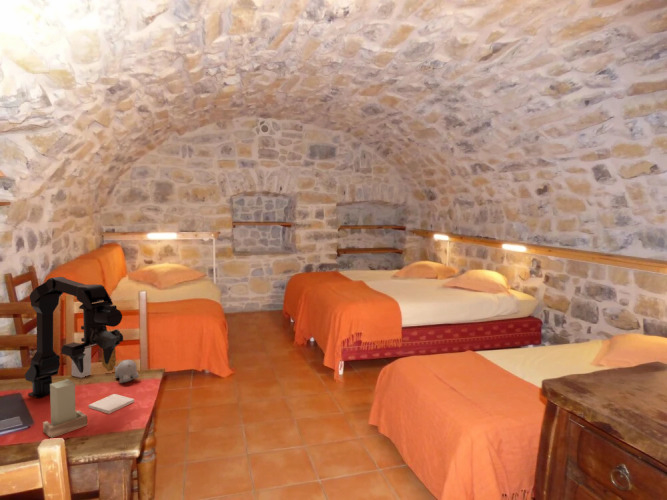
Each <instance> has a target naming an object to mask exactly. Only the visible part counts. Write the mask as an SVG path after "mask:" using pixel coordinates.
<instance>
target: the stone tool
mask: <svg viewBox="0 0 667 500" xmlns="http://www.w3.org/2000/svg"><path fill="white" fill-rule="evenodd" d="M116 353H117V352H116V347H115V348H114V350H113V352H112V355H111V357H110V360H109V363H108V364H105V361H104V354H103V353H102V354H101V359H102V360H101V364H102V367H103V368H104V369H106V371H107V372H110V371H113V370H114V369H115V366H116V362H117V357H116V356H117V355H116Z"/></svg>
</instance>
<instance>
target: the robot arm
mask: <svg viewBox="0 0 667 500" xmlns="http://www.w3.org/2000/svg"><path fill="white" fill-rule="evenodd" d="M63 294H67V295H69V296H74V297H76V300H77V301H78V302H80V304H81V305H80V306H78V309H79V310H80V309H81V310H83V311H82V312H83V313H82V314H83V316H82V317H83V320H82V321H83V325H82V326H80V329H81V330H82V331H83V337H81V338H80V339H81V342H82V343H79V342H75V341H73V342H70V343H66V344H63V345H62V347H61V350H60V351H61V353H60V354H62V355H65V356H68V357H69V358H70V359H71V361H72V360H73V362H74V363H75V365H76V366H77V368H78V370H79V372H80V373H83V369H84V367H83V357H84V356H85V354H84V353H83V352H84V351H85V349H86V348H89V347H91V348H92V347H94V346H95V347H96V346H98V347H99V348H101V349H102V354H104V361H105V364H108V363H109V360H110V357H111V355H112V352H113V350H114V348H115V349H116V347H117V346H119V345H120V344H121V343H122V342H124V335H123V333H121V330H119V329H113V330H110V331H109V330H108V329H107V327H111V328H114V327H117V326H119V325H120V324H121V322H122V319H123V314H122V311H121V310H119V309H118V308H117V307H118V306H117V305H115V304H113V303H114V302H113V301H112V300H113V299H112V298H111V297H110V295H109V293H108V291H107V289H106V288H105V286H104V285H102V284H96V283H95V284H94V283H93V284H84V283H82V282H78V281H75V280H71V279H68V278H66V277H65V276H57V277H55V276H54V277H50V278H48V279H47V280H45V281H44V283H42V284H40V285H38V286H37V287H35V288H34V289H33V290H32V291H30V294H29V300H30V306H31V307H32V309H33V310H34V311H35V313H36V351H35V353H34V355H32V358H31V360H30V367H29V368H28V370H27V371H26V372H25V373H24V378H25V380H26V381H28V382H31V387H32V390H31V392H29V393H27V396H31V397H34V398H37V399H40V398H44V397H46V396H50V384H52V383H53V377H54V376H56V375H57V376H58V373H59V371H60V370H59V369H60V366H61V362H60V360H61V356H60V354H57V353H56V352H55V351H54V312H55V310H56V308H57V307H58V306H59V303H60V297H62V295H63Z"/></svg>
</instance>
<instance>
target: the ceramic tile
mask: <svg viewBox="0 0 667 500" xmlns="http://www.w3.org/2000/svg"><path fill="white" fill-rule="evenodd" d="M132 403H135V398H132V397H129V396H128V397H127V396H123V395H122V394H121V395H120V394H117V393H113V394H110V395H108V396H106V397H104V398H101V399H99V400H97V401H95V402H92V403H90V404H88V408H89V409H92V410H95V411H99V412H102V413H105V414H108V415H110V414H112V413H115V412H116V411H118V410H121V409H122V408H125V407H127V406H128V405H130V404H132Z"/></svg>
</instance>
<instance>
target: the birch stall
mask: <svg viewBox="0 0 667 500" xmlns="http://www.w3.org/2000/svg"><path fill="white" fill-rule="evenodd" d="M85 426H88V415H87V414H85V413H83V412H82V411H81V410H76V419H73V420H70V421H67V422H64V423H62V424H59V425H56V426H53V425H51V422H49V421H48V420H46V421H42V432H43V433H44V434H45V435H46V436H48V437H50V439H53V438H56V437H58V436H61V435H64V434H67V433H70V432H72V431H75V430H78V429H81V428H84V427H85Z"/></svg>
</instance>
